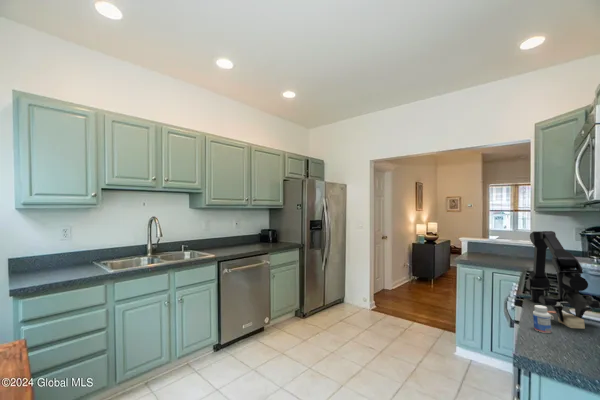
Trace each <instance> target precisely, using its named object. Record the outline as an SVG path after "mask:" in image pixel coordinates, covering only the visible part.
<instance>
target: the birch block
mask: <svg viewBox="0 0 600 400" xmlns="http://www.w3.org/2000/svg"><path fill="white" fill-rule="evenodd" d="M557 319H558V323H561V324H562V325H565V326H566V327H568V328H569V329H570V328H571V329H585V328H586V327H585V319H583V318H582V319H581V318H579V317H577V316H576V315H574V314H572V313H568V314H563V322H562V321H561V320H560V319H559V317H558V316H557ZM585 330H586V329H585Z"/></svg>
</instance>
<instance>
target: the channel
mask: <svg viewBox="0 0 600 400" xmlns="http://www.w3.org/2000/svg"><path fill="white" fill-rule="evenodd" d="M547 312H548V313H549V314H550V320H552V321H553V320H555V319H554V318H555V317H554V315H552V314H557V313H556V312H555V310H547ZM562 313H563V314H569V313H568V312H567V311H565V310H563V309H562Z"/></svg>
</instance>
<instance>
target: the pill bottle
mask: <svg viewBox="0 0 600 400" xmlns="http://www.w3.org/2000/svg"><path fill="white" fill-rule="evenodd" d="M533 307H534V310H533V311H532V319H533V328H534V330H535V331H536V332H538V331H539V333H542V334H551V333H552V323H551V319H550V314H551V313H548V312H547V311H548V307H547V306H546V305H539V304H536V305H534V306H533Z"/></svg>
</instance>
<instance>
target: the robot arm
mask: <svg viewBox="0 0 600 400" xmlns="http://www.w3.org/2000/svg"><path fill="white" fill-rule="evenodd" d="M556 234H557V233H556V232H555V231H552V230H543V231H541V230H540V231H537V230H536V231H534V230H533V231H531V232H530V234H529V239H530V242H531V244H532V245H533V247H534V249H533V266H532V267H533V270H532V271H531V272H530V273H529V274H528V278H527V280H526V282H525V287H526V289H527V290H528V291H530V296H531V297H529V298H528V300H530V301H531V302H533V303H539V304H543V305H544V306H549V307H550V306H551V307H552V309H553V311H555V312H556V313H555V314H556V315H557V318H558V317H559V319H560V320H561V321H562V322H563V313H562V310H563V309H564V306H562V305H561V304H567V305H569V306H570V307H572V308H574V312H575V313H574V314H575V316H577V317H579V318H581V319H583V318H584V317H583V316H584V314H585V312H587V311H590V310H592V309H600V301H599V300H598V299H597V300H596V299H594V298H592V296H591V295H589V294H588V295H587V294H580V292H582V291H585V290H587V289H588V287H589V283H588V281H587V279H586V278H584V277H582V274H584V272H583V271H584V269H583V267H582V266H581V264H580V262H579V261H578V259H577V258H576V257H575V256H574V255H573V254H572V252H568V251H567V250H566V249H565V248H564V246H563V245H562V243H561V242H560V240H559V239H558V238H557V236H556ZM547 249H548V250H549V251H550V253H551V256H552V260H551V264H552V266H553V268H554V269H555V273H556V277H557V285H556V289H558V290H557V291H558V294H557V298H555V297H553V296H550V295H546V294H545V292H550V285H551V282H550V279H549V278H548V277H547V275H546V261H547V259H546V257H547Z"/></svg>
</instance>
